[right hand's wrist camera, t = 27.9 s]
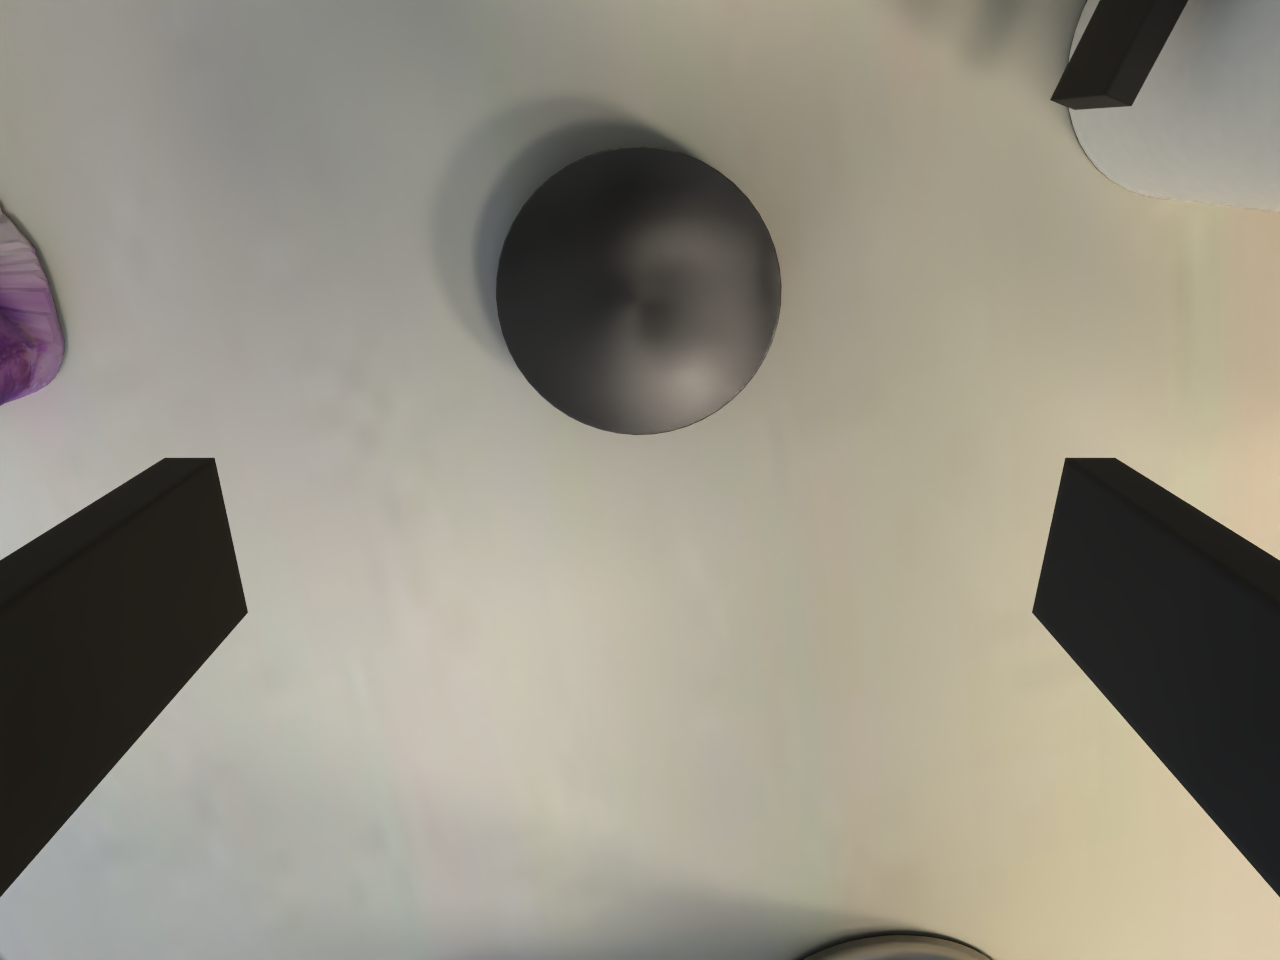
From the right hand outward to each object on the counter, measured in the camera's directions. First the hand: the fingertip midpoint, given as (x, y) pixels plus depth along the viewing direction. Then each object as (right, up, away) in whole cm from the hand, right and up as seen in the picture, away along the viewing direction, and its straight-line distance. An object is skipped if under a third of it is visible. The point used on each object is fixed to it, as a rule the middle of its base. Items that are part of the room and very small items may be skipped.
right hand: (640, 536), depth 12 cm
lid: (0, +7, +15) cm, 16 cm away
